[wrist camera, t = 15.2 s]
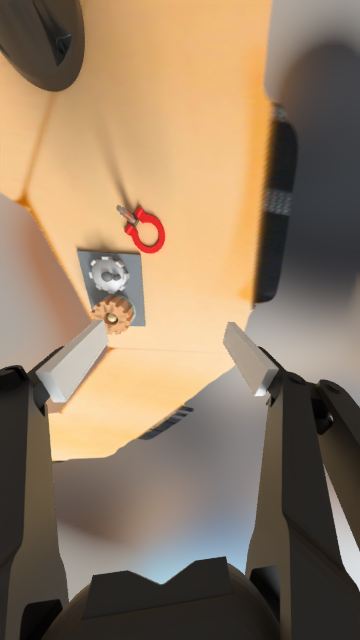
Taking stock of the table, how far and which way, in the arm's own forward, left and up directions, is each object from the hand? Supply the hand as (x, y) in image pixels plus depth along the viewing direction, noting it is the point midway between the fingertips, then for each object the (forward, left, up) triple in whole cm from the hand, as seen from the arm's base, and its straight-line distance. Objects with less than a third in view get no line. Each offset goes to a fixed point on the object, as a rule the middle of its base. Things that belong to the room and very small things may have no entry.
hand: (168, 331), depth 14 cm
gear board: (+4, -16, -29) cm, 33 cm away
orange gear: (+10, -16, -28) cm, 33 cm away
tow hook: (-12, -6, -29) cm, 32 cm away
